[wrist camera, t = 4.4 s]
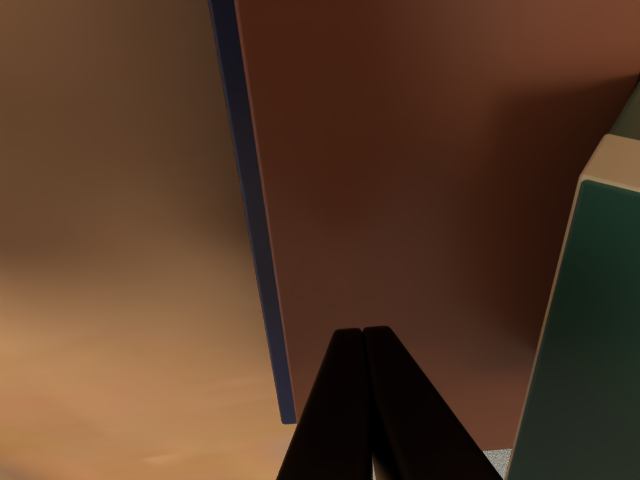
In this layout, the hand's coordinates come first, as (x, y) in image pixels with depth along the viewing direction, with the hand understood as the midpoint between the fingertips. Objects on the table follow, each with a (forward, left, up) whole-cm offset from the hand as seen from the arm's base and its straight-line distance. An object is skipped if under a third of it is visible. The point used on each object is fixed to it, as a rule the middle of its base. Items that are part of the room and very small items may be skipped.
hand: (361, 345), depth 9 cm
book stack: (-1, 0, -5) cm, 5 cm away
